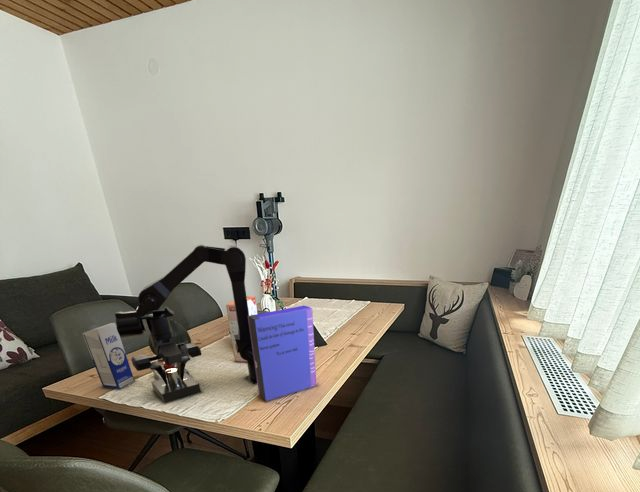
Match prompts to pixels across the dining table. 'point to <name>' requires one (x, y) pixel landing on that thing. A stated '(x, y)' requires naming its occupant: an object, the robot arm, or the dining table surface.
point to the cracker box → (234, 324)
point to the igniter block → (165, 370)
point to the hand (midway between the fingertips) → (174, 382)
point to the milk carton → (108, 356)
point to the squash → (175, 335)
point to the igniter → (167, 365)
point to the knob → (172, 376)
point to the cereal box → (283, 351)
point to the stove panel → (176, 389)
